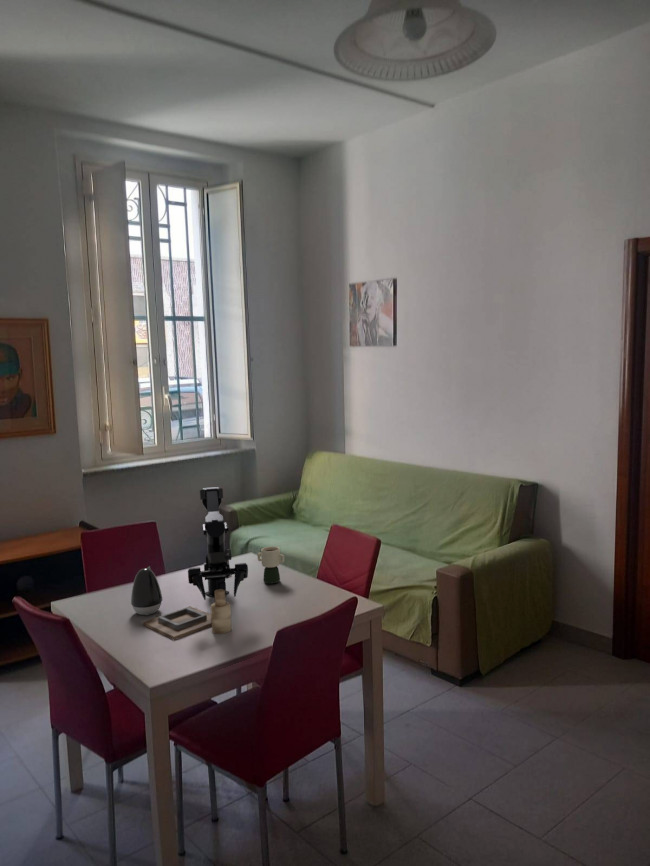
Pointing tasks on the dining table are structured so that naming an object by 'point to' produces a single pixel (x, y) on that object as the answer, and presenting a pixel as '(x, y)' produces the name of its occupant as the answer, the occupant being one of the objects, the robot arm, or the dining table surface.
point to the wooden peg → (220, 613)
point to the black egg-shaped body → (146, 593)
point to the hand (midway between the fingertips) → (220, 597)
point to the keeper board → (180, 622)
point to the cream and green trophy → (271, 563)
